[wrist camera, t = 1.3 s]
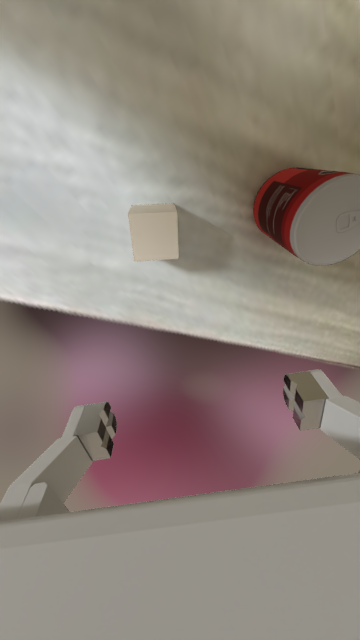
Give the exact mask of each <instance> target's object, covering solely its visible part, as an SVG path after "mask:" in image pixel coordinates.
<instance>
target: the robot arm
mask: <svg viewBox="0 0 360 640" xmlns="http://www.w3.org/2000/svg"><path fill="white" fill-rule="evenodd" d="M284 382H285V384H286V386H285V387H284V388H283V395H284V400H285V402H286V405H287V407H288V409H289V410H291V411H293V419H294V420H295V422H296V424H297V426H298V428H299V430H309V429H318V428H320V430H322V431H323V432H324V433H326V434H327V435H328V436H329V437H331V438H332V439H333V440H335V441H336V442H337V443H339V444H340V445H341V446H342V447H344V448H345V449H346V450H348V451H349V452H351V453H352V454H353V455H354V456H355V457H357V458H358V459H359V460H360V403H359V402H357V401H355V400H353V399H351V398H349V397H347V396H342V395H341V394H340V393H339V391H338V390H337V389H336V388H335V386H334V385H333V384H332V383H331V381H330V380H329V379H328V378H327V376H326V375H325V374H324V373H323V371H322V370H320V369H317V370H311V371H304V372H298V373H292V374H286V375H285V376H284ZM110 409H111V406H110V404H109V403H108V402H104V403H96V404H88V405H82V406H76V407H75V408H74V409H73V411H72V413H71V416H70V418H69V421H68V423H67V426H66V428H65V431H64V433H63V435H62V438H60V439H57V440H56V441H55V442H54V443H53V444H52V445H51V446H50V447H49V448H48V449H47V450H46V451H45V452H44V453H43V454H42V455H41V456H40V457H39V458H38V459H37V460H36V461H35V462H34V463H33V464H32V465H31V466H30V467H29V468H28V469H27V470H25V472H23V473H22V474H21V475H20V476H19V477H18V478H17V479H16V480H15V481H14V482H13V483H12V484H11V485H10V486H9V488H8V490H7V492H6V494H5V496H4V498H3V500H2V502H1V504H0V640H360V470H359V472H358V473H354V474H347V475H340V476H333V477H325V478H317V479H311V480H303V481H296V482H288V483H280V484H273V485H266V486H258V487H251V488H243V489H236V490H229V491H222V492H214V493H207V494H199V495H192V496H185V497H177V498H170V499H163V500H155V501H149V502H141V503H133V504H126V505H118V506H111V507H104V508H97V509H89V510H82V511H74V512H70V511H69V510H68V509H67V507H66V506H65V505H64V504H63V503H64V502H65V500H66V499H67V497H68V496H69V495H70V493H71V492H72V490H73V489H74V488H75V486H76V485H77V483H78V482H79V480H80V479H81V477H82V476H83V475H84V473H85V472H86V471H87V469H88V468H89V466H90V465H91V463H92V461H95V460H101V459H107V458H111V455H112V449H113V445H114V443H113V441H112V438H113V437H114V436H115V434H116V428H117V422H116V417H115V415H114V414H113V413H112V412H110Z"/></svg>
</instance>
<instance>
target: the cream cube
mask: <svg viewBox="0 0 360 640" xmlns="http://www.w3.org/2000/svg"><path fill="white" fill-rule="evenodd" d="M128 217H129V225H130V232H131V240H132V248H133V255H134V261H149V260H166V259H179V253H178V217H177V210H176V207H175V205H174V203H170V204H147V205H131V207H130V210H129V213H128Z"/></svg>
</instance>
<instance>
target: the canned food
mask: <svg viewBox="0 0 360 640" xmlns="http://www.w3.org/2000/svg"><path fill="white" fill-rule="evenodd" d="M253 210H254V218H255V222H256V224H257V226H258V228H259V229H260V230H261V231H262V232H263V233H265V234H266V235H267V236H269V237H270V238H272V239H273V240H274V241H276V242H277V243H278V244H280V245H281V246H282V247H284V248H285V249H287V250H288V251H289V252H291V253H292V254H293V255H295V256H296V257H298V258H299V259H301V260H303V261H304V262H307V263H309V264H312V265H316V266H327V265H332V264H336V263H339V262H341V261H343V260H345V259H347V258H349V257H350V256H352V255H354V254H355V253H356V252H357V251H359V250H360V175H359V174H353V173H346V172H337V171H326V170H316V169H306V168H289V169H285V170H282V171H280V172H278V173H276V174H275V175H273V176H272V177H271V178H269V179H268V180H267V181H266V182H265V183H264V184H263V186H262V187H261V188H260V190H259V192H258V194H257V196H256V199H255V202H254V208H253Z"/></svg>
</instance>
